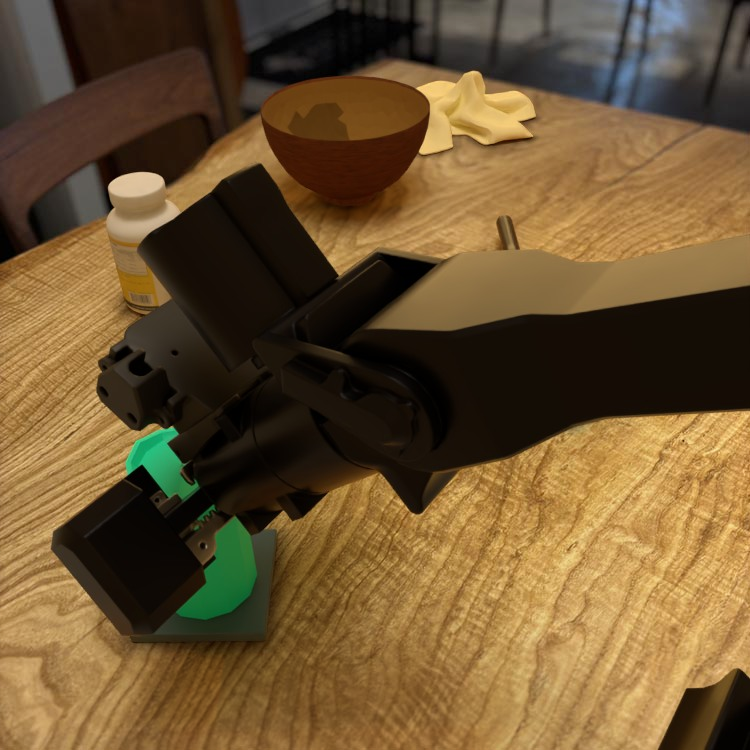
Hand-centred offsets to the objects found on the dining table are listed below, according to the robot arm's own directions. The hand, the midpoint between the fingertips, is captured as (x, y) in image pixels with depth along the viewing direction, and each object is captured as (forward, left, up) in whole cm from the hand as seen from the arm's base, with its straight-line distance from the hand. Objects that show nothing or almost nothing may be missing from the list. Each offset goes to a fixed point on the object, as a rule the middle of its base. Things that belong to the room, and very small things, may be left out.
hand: (175, 497), depth 50 cm
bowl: (+16, -51, -8) cm, 54 cm away
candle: (-1, 0, -7) cm, 7 cm away
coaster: (-1, 0, -7) cm, 8 cm away
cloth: (+12, -75, -8) cm, 76 cm away
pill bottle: (+22, -25, -8) cm, 34 cm away
